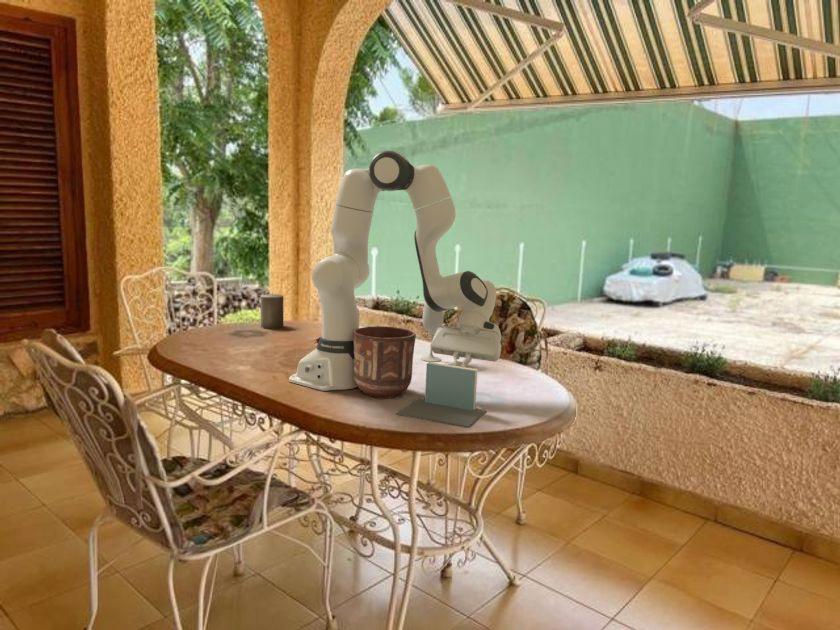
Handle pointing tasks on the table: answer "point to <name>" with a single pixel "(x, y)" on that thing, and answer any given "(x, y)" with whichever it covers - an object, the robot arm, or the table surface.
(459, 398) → the tile
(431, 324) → the wineglass
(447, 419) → the mat
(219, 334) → the table surface
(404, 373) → the pottery
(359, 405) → the table surface
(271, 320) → the pillar candle
